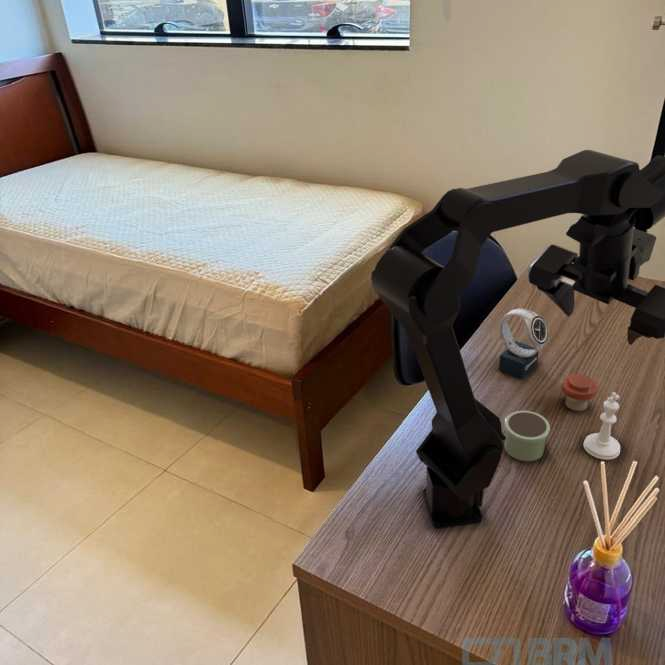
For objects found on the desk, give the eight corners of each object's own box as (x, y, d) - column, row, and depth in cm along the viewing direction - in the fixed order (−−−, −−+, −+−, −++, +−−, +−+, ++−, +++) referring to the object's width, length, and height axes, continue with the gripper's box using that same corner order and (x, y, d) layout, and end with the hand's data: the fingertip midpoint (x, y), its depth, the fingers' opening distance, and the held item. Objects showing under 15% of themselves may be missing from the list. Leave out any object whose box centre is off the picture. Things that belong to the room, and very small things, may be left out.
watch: (532, 383, 102) (540, 327, 96) (489, 366, 106) (494, 312, 101) (548, 367, 105) (556, 313, 99) (505, 351, 110) (511, 298, 104)
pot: (511, 465, 86) (514, 441, 84) (496, 436, 92) (498, 413, 89) (553, 460, 87) (557, 436, 84) (536, 431, 92) (539, 407, 89)
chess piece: (576, 441, 90) (587, 387, 84) (604, 432, 91) (617, 379, 85) (598, 463, 86) (611, 408, 80) (627, 454, 87) (642, 399, 81)
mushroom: (567, 417, 94) (572, 392, 92) (553, 396, 98) (557, 372, 96) (599, 413, 94) (605, 388, 92) (584, 392, 99) (589, 368, 96)
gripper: (722, 232, 69) (699, 316, 81) (573, 185, 81) (572, 265, 92) (670, 296, 66) (654, 374, 78) (522, 238, 77) (528, 314, 89)
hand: (600, 327), depth 84 cm, fingers open, 9 cm apart
